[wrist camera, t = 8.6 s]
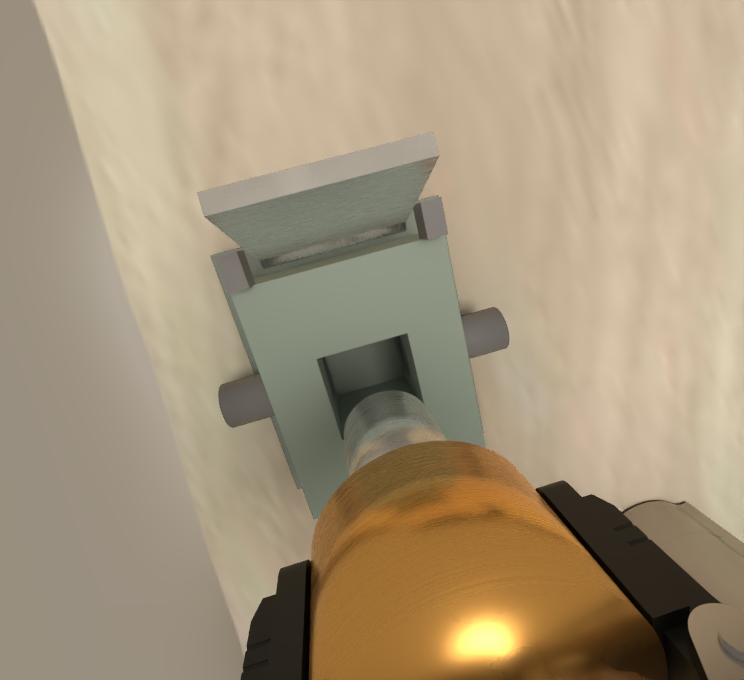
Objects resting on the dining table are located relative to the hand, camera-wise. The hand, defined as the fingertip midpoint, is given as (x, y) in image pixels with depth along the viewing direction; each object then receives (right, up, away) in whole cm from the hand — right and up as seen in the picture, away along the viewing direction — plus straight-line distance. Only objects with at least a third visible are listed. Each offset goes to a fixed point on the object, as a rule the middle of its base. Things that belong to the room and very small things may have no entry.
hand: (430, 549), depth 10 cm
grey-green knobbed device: (-2, +5, +17) cm, 18 cm away
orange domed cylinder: (-1, +2, +6) cm, 6 cm away
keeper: (-3, +10, +8) cm, 14 cm away
